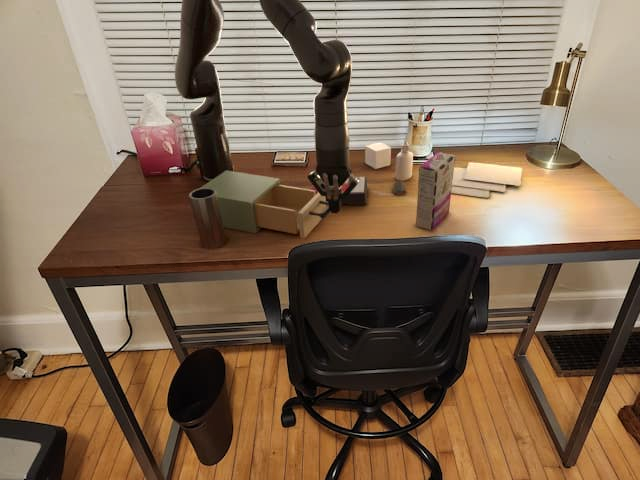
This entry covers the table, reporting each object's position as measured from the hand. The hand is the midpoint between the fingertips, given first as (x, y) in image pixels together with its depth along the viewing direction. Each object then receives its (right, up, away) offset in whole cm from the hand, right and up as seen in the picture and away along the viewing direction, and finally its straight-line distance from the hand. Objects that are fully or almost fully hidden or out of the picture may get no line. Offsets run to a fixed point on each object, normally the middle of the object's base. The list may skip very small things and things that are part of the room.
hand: (335, 211), depth 107 cm
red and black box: (0, +7, +19) cm, 21 cm away
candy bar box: (+25, -1, +8) cm, 26 cm away
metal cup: (-30, -7, 0) cm, 30 cm away
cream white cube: (+12, +21, +38) cm, 45 cm away
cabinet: (-25, +1, +11) cm, 28 cm away
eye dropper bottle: (+20, +14, +29) cm, 38 cm away
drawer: (-10, -2, +6) cm, 12 cm away
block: (+17, +9, +22) cm, 30 cm away
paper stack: (+42, +13, +28) cm, 52 cm away
